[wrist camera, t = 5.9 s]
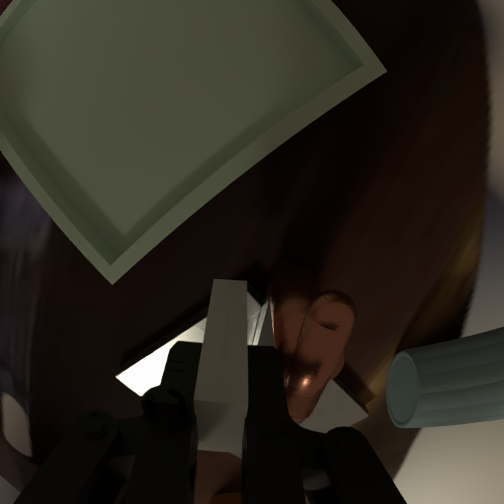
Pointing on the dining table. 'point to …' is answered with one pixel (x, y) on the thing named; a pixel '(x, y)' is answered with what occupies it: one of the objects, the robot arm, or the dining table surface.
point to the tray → (160, 105)
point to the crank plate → (155, 356)
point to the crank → (304, 332)
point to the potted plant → (226, 498)
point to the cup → (448, 382)
